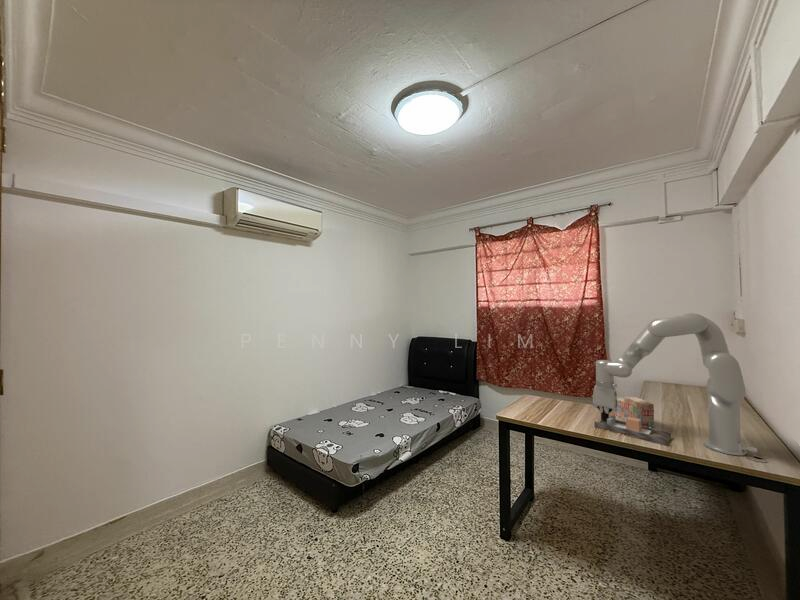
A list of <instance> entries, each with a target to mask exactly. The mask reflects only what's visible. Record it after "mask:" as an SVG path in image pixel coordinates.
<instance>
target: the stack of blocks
mask: <svg viewBox="0 0 800 600" xmlns="http://www.w3.org/2000/svg"><path fill="white" fill-rule="evenodd" d="M617 402H618V406H617V411H614V412H616V413H618V414H620V415H622V416H624V417H626V418H627V417H628V416H629V417H633V418H638V419H641V426H645V427H655V421H654V420H655V417H654V416H655V407H654V406H655V404H654V403H652V402H649V401H647V400H644V399H641V398H639V397H637V396H624V397H617Z"/></svg>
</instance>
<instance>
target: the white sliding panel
mask: <svg viewBox="0 0 800 600" xmlns="http://www.w3.org/2000/svg"><path fill="white" fill-rule="evenodd" d="M616 420H617V419H616V415H614V414H613V415H609V418H608V419H607V424H608V425H612V426H616V427H621V428H625V429H626V425H624V424H620V423H616ZM640 432H641V433H645V434H649V435H650V434H651V431H650V430H646V429H641V431H640Z"/></svg>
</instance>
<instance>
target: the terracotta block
mask: <svg viewBox="0 0 800 600" xmlns="http://www.w3.org/2000/svg"><path fill="white" fill-rule="evenodd" d="M625 422H626V429H629V430H633V431H637V432H640V431H641V419H638V418H633V417H629V416H628V417H627V418H626V420H625Z"/></svg>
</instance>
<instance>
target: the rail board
mask: <svg viewBox="0 0 800 600" xmlns="http://www.w3.org/2000/svg"><path fill="white" fill-rule="evenodd" d="M616 423H620V424H624V425H626V421H622V420H618V419H616ZM595 427H596V428H595ZM594 428H595V429H599V428H600V429H599V430H602V429H605V430H604V431H606V430H609V431H608V432H610V431H612V432H611V433H614V432H616V433H615V434H618V433H620V434H619V435H622V434H624V435H623V436H626V435H627V436H626V437H630V436H631V437H630V438H634V439H637V440H641V439H642V441H645V442H650V443H654V444H658V445H662V446H666V447H667V446H668V445H669V444H670V442H671V440H672V432H671V431H665V430H661V429H656V428H649V427H645V426H641V429H646V430H650V431H651V434H650V435H649V434H645V433H641V432H637V431H633V430H629V429H625V428H621V427H616V426H612V425H608V424H607V421H602V418H601V417H600V421H594Z"/></svg>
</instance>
